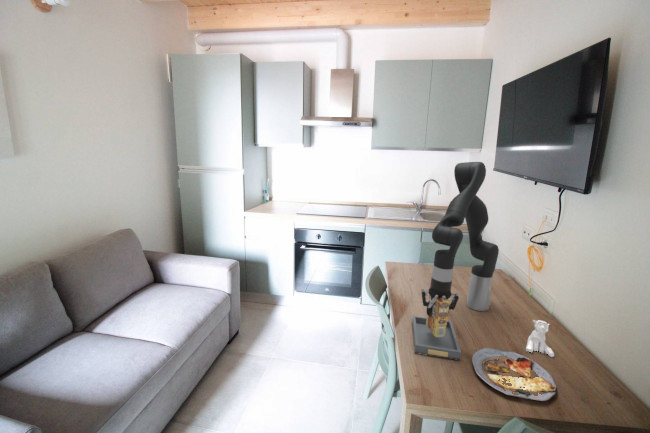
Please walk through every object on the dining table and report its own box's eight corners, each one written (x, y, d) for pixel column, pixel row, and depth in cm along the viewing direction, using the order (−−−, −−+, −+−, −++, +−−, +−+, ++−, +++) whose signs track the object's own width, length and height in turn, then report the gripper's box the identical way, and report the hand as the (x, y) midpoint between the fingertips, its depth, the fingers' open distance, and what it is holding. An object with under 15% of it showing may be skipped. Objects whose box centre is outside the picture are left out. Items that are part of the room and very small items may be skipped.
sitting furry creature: (526, 353, 118) (532, 325, 115) (518, 339, 126) (524, 313, 123) (554, 358, 116) (561, 330, 113) (545, 344, 124) (551, 317, 121)
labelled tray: (450, 328, 132) (451, 321, 132) (460, 361, 112) (461, 353, 111) (412, 322, 136) (412, 315, 135) (414, 353, 116) (415, 345, 115)
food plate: (537, 359, 114) (539, 351, 113) (571, 411, 92) (573, 402, 91) (465, 349, 120) (466, 341, 119) (480, 396, 98) (482, 387, 97)
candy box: (445, 337, 119) (450, 301, 116) (435, 337, 119) (440, 301, 115) (434, 324, 128) (439, 290, 124) (424, 324, 127) (429, 290, 124)
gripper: (459, 275, 120) (454, 314, 124) (421, 270, 123) (417, 309, 127) (463, 283, 113) (457, 324, 117) (423, 278, 116) (418, 318, 120)
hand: (436, 316), depth 122 cm, fingers closed on candy box, 5 cm apart
